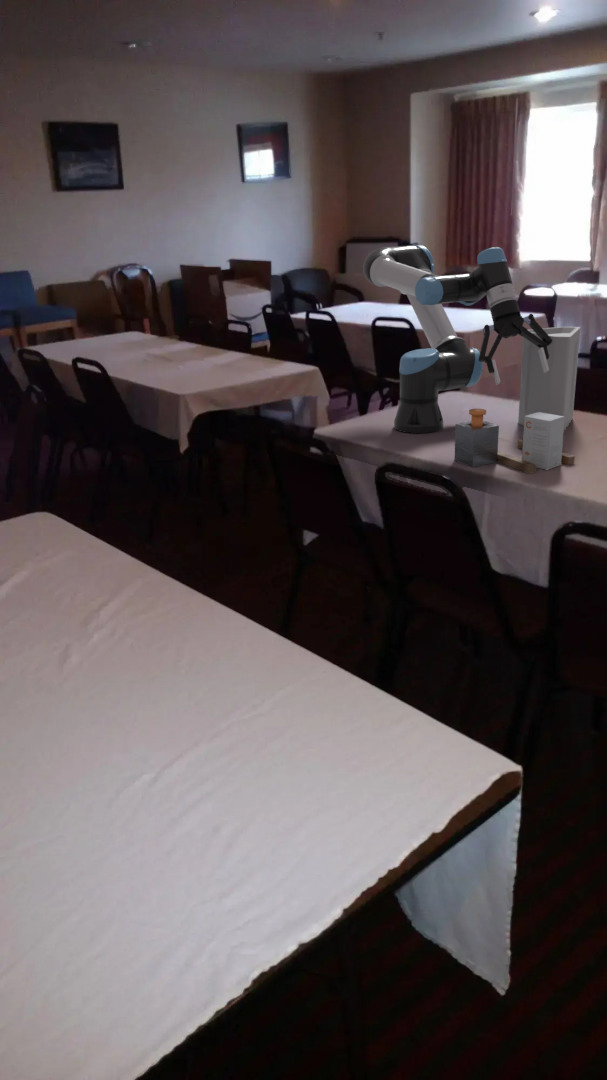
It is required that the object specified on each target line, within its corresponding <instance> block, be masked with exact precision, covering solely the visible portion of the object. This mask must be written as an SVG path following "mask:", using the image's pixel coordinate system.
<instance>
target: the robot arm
mask: <svg viewBox="0 0 607 1080" xmlns="http://www.w3.org/2000/svg"><path fill="white" fill-rule="evenodd" d="M476 261H477V265H478V266H477V267H476V268H475V269H474V270H472V272H469V273H459V274H450V275H438V274H434V271H435V264H434V262H435V261H434V256H433V255H432V253H431V251H430V250H429V249H428V248H427V247H426V246H425V245H422V244H408V245H398V246H396V245H395V246H383V247H378V248H375V249H373V250H372V251H370V253H369V254H367V256H366V258H365V259H364V262H363V266H362V268H363V269H362V270H363V275H364V278H365V279H366V281H368V282H369V283H370V284H372V285H374V286H377V287H379V288H384V287H389V288H391V289H394V290H396V291H399V293H401V294H403V295H406V296H407V299H408V300H409V303H410V305H411V307H412V309H413V311H414V314H415V316H416V317H417V319H418V322H419V324H420V326H421V328H422V330H423V333H424V335H425V337H426V338H427V339H426V340H427V341H428V344H429V345H430V347H428V348H418V349H414V350H411V351H408V352H405V353H404V354H402V356H401V357H400V360H399V369H398V372H399V405H398V408H397V411H396V413H395V417H394V419H393V420H394V421H393V424H394V425H393V427H395V428H396V429H398V430H401V431H400V432H402V431H405V432H404V433H407V432H411V433H410V434H426V433H427V434H428V433H432V432H433V433H434V432H438V431H440V430H442V429H443V428H444V418H443V415H442V412H441V408H440V406H439V392H442V391H449V390H455V389H461V388H462V389H466V388H469V387H472V386H474V385H476V384H477V383H478V382H479V380H480V379H481V376H482V374H483V368H484V364H483V363H485V364H486V366H487V370H488V373H489V374H492V375H493V379H494V382H495V383H494V384H495V385H496V386H497V385H498V386H499V384H501V378H500V374H499V371H498V366H497V363H496V359H495V358H494V359H492V358H493V356H494V354H495V353H496V350H497V348H498V347H499V344H500V343H501V340H502V339H503V338H504V339H510V337H511V338H512V337H513V338H514V337H516V336H518V335H519V336H521V337H522V338H523V337H524V338H526V339H527V340H529V341H530V342H532V343H533V344H535V345H536V346H537V347H539V348H540V349H539V350H538V353H539V356H540V360H541V364H542V368H543V371H544V373H547V372H548V371H549V367H548V363H547V359H548V358H549V354H548V350H547V346H548V345H550V344H551V343H552V339H551V338H550V337H549V336H548V334H547V333H546V332H545V331H544V330H543V328H542V326H541V325H540V324H539V323H538V322H537V321H536V319H535V316H534V314H533V313H529V315H527V316H524V317H523V316H522V314H521V311H520V306H519V304H518V301H517V300H516V299H517V296H516V292H515V287H514V285H513V281H512V280H513V279H512V277H511V272H510V269H509V264H508V260H507V258H506V254H505V252H504V249H503V248H501V247H498V246H495V247H490V248H486V249H484V250H482V251H480V252H479V253H478V255H477V258H476ZM485 296H486V299H487V303H488V307H489V308H490V310H489V311H490V312H489V313H490V315H491V318H492V322H493V324H491V325H489V324H485V325H484V327H483V329H482V331H483V339H482V343H481V347H480V350H479V349H477V348H476V347H475V348H474V347H469V346H468V344H467V342H466V340H465V339H464V338H462V337H460V336H458V334H457V332H456V331H455V328H454V326H453V325H452V323H451V320H450V318H449V316H448V315H447V312H446V310H445V308H444V306H443V304H449V303H450V304H451V303H460V304H462V305H464V306H467V307H468V306H473V305H474V304H476V303H478V302H479V301H480V300H481V299H483V298H484V297H485ZM524 323H526V324H527V325H528V326H529V327H530V328H531V329H533V330H534V332H535V333H536V334H537V335H538V336H539V337H540V338H541V339H542V340H541V339H540V338H538V337H537V336H535V335H534V334H532V333H531V332H529V331H528V330H529V329H528V328H526V327H525V326H523V325H524ZM493 331H495V333H497V336H496V338H495V340H494V342H493V344H492V346H491V348H490V350H489V352H488V354H487V355H486V353H487V348H488V343H489V339H490V334H491V333H493ZM395 428H394V429H395ZM396 429H395V430H396ZM398 430H397V431H398Z"/></svg>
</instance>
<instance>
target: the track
mask: <svg viewBox="0 0 607 1080" xmlns="http://www.w3.org/2000/svg"><path fill="white" fill-rule="evenodd" d="M517 448H518V449H522V450H523V438H521V439H517ZM497 463H500V464H503V465H506V466H508V467H511V468H513V469H516V470H519V471H522V472H525V473H526V474H533V473H536V468H537V467H536V465H535V464H533V463H530V462H527V461H524V460H522V458H518V457H517V456H512V455H510V454H507V453H506V452H503V451H499V450H498V455H497ZM573 463H574V464H575V455H572V454H569V453H567V452H563V451H562V459H561V464H565V465H569V464H570V465H573Z"/></svg>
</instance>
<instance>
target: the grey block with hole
mask: <svg viewBox="0 0 607 1080" xmlns="http://www.w3.org/2000/svg"><path fill="white" fill-rule="evenodd" d="M454 427H455V429H454V431H455V434H454V437H455V438H454V461H456V462H458V461H459V463H462V464H463V465H466V466H468V467H471V468H477V467H480V466H485V465H491V464H495V463H498V461H497V455H498V451H499V432H500V430H499V429H500V425H498V424H495V423H491V422H489V421H486V420H483V426H481V427H473V426H471V420H470V421H463V422H459V423H455V426H454Z"/></svg>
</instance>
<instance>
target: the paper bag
mask: <svg viewBox="0 0 607 1080" xmlns="http://www.w3.org/2000/svg"><path fill="white" fill-rule="evenodd" d="M542 329H543V330H544V331H545V332H546V333H547V334H548V336H549V337H550V338H551V339H552V343H551V344H550V345H548V346H547V350H548V354H549V358H548V359H547V363H548V367H549V371H548V372H547V373H544V371H543V368H542V364H541V360H540V356H539V353H538V350H539V349H540V348H539V347H537V346H536V345H535V344H533V343H532V342H530V341H529V340H527V339H526V338H524V337H523V336H522V351H521V353H522V354H521V369H520V371H521V372H520V384H519V385H520V387H519V388H520V389H519V400H518V401H519V404H518V419H517V420H518V422H517V424H518V425H522V426H524V416H526V415H530V414H533V413H537V412H542V413H547V414H553V415H559V416H564V430H566V429H567V428H568V426H570V424H569V423H571V422H572V421H571V420H573V419H574V408H575V407H574V406H575V398H576V397H575V396H576V395H575V394H576V386H577V385H576V383H577V375H578V362H579V350H580V340H581V339H580V336H581V335H580V334H581V326H559V327H558V326H555V327H546V328H545V327H543V328H542ZM527 330H528V331H529V332H531V333H532V334H534V335H535V336H537V337H538V338H540V337H539V336H538V335H537V334H536V333H535V332H534V330H533V329H532V328H531V329H527ZM540 339H541V338H540ZM541 340H542V339H541ZM566 427H567V428H566ZM563 433H565V431H563Z"/></svg>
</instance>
